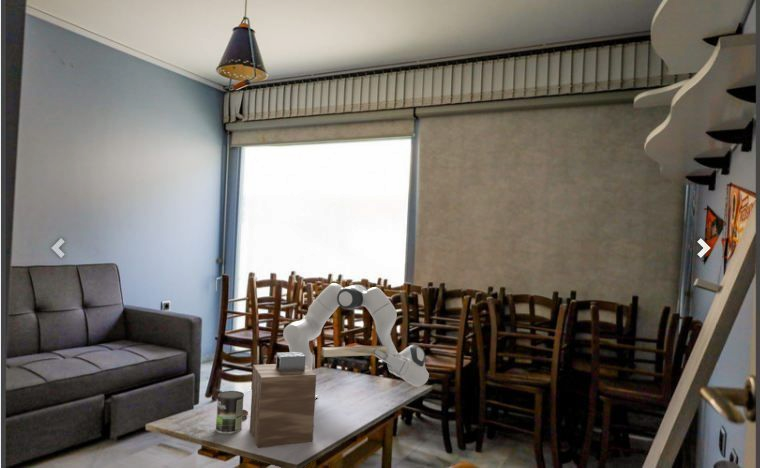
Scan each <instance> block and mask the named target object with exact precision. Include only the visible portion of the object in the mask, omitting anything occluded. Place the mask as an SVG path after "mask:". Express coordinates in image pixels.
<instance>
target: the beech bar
mask: <svg viewBox="0 0 760 468" xmlns="http://www.w3.org/2000/svg"><path fill="white" fill-rule="evenodd" d="M375 349H377V350H379V351H381V352H383V353H385V352H386V353H387V347H385V346H381V345H362V346H333V347H330V346H329V347H328V346H327V347H321V356H322V357H323V358H330V357H331V358H334V357H337V358H338V357H355V356H356V357H357V356H358V357H359V356H374V355H377V354H376V353H374V351H375Z"/></svg>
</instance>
